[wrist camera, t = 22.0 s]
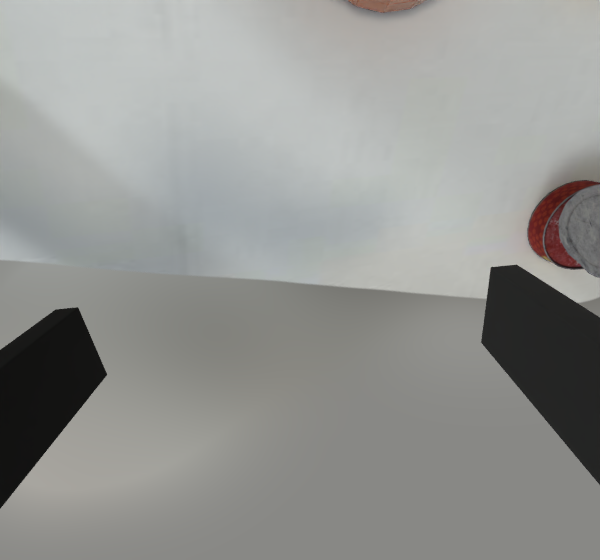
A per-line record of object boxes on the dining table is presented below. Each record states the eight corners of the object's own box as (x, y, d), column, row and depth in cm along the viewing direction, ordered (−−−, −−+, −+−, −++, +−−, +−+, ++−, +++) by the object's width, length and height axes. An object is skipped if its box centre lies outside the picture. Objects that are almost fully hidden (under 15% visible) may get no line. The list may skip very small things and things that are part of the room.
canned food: (504, 218, 45) (521, 210, 36) (585, 169, 41) (628, 147, 32) (557, 290, 44) (589, 301, 34) (646, 246, 40) (708, 245, 31)
